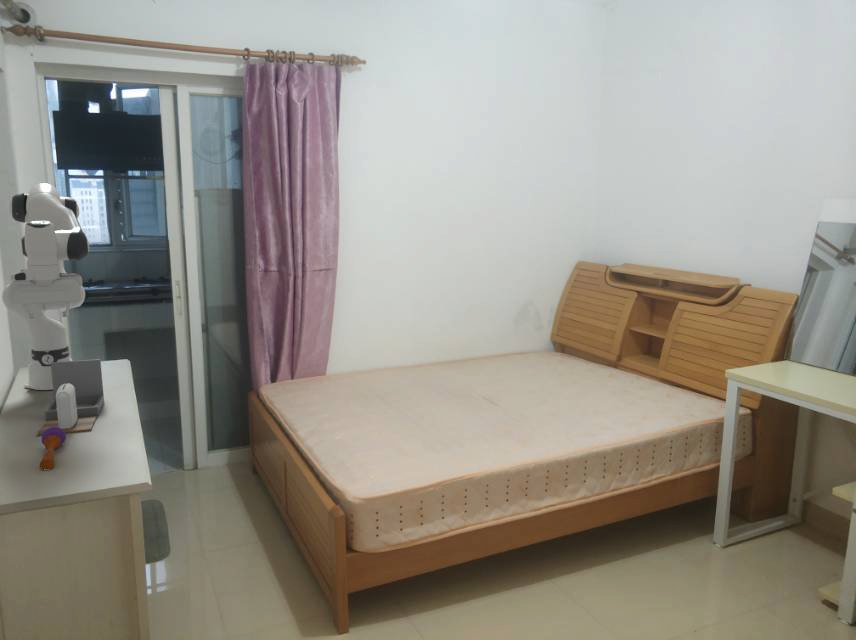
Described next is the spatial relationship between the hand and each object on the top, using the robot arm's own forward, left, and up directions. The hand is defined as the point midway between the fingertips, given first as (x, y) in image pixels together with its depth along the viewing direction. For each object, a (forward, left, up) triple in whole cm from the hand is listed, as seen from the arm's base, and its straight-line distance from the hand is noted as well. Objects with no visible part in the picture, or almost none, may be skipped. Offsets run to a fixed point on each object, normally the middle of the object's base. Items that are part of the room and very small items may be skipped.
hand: (48, 317), depth 203 cm
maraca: (+41, +5, -32) cm, 52 cm away
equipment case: (+2, +6, -31) cm, 32 cm away
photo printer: (+17, +6, -31) cm, 35 cm away
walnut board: (+17, +6, -31) cm, 36 cm away
